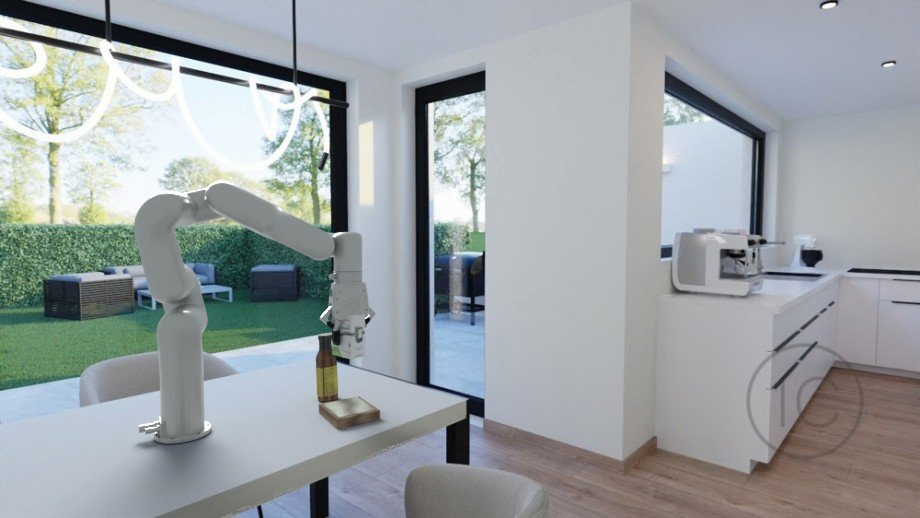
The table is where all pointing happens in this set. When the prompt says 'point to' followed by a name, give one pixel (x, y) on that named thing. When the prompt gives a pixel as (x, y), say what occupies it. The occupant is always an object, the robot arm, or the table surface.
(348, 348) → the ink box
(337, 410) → the wooden tray
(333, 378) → the sauce bottle
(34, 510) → the table surface
